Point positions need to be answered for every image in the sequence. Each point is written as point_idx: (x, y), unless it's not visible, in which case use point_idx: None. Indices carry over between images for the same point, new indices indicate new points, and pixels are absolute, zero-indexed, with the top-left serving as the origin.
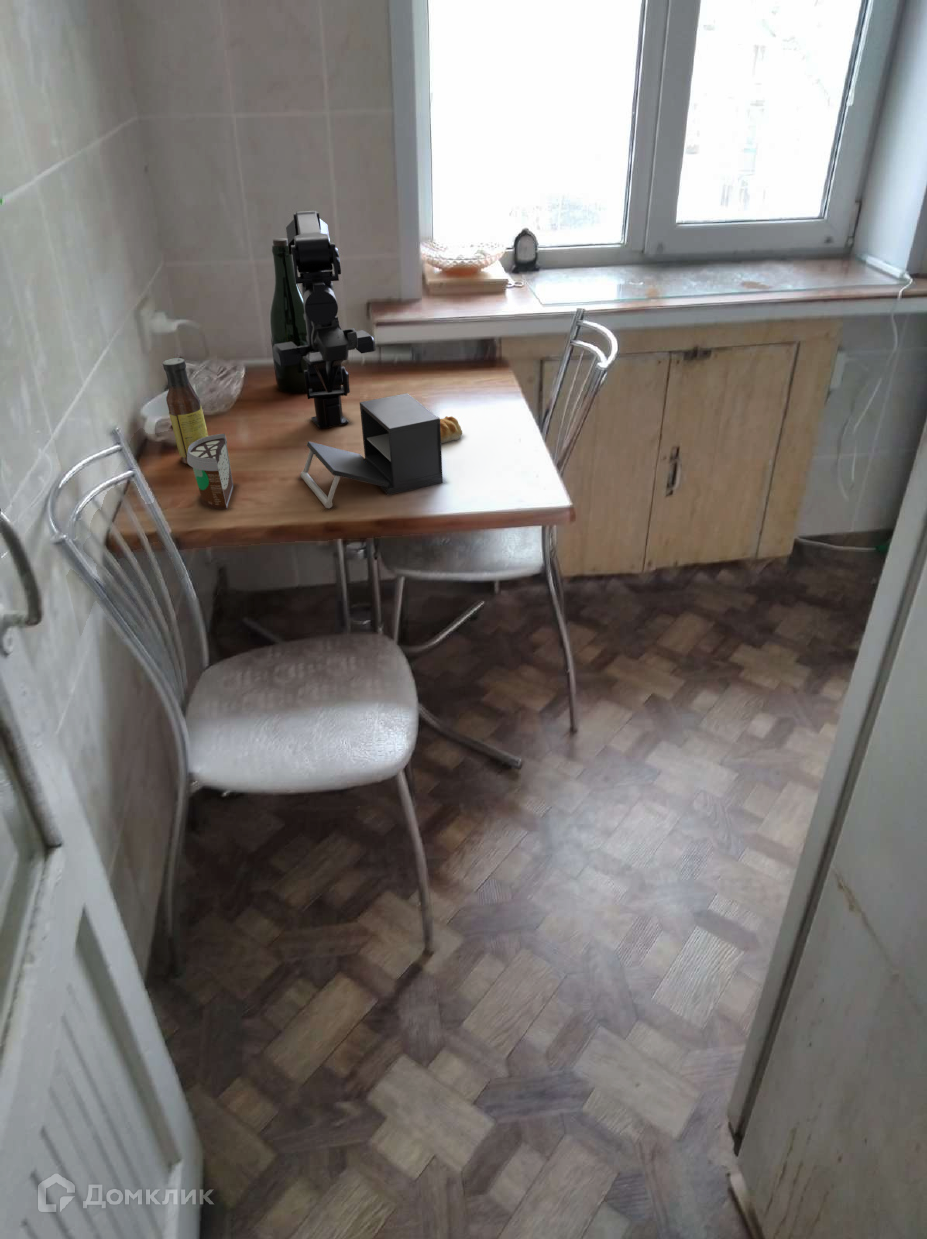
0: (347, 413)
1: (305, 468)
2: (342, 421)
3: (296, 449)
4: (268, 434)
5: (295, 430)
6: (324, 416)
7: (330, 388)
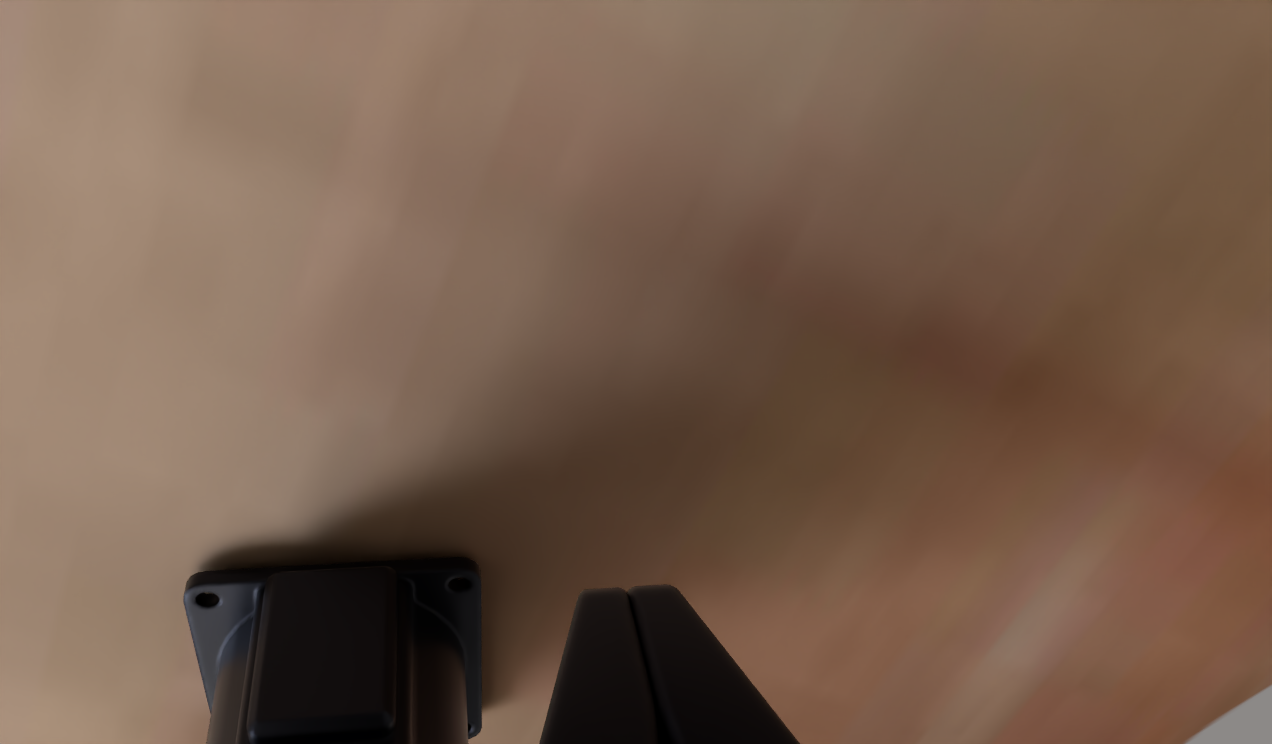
0: (148, 739)
1: None
2: (243, 605)
3: (855, 271)
4: (877, 609)
5: None
6: (415, 664)
7: (626, 650)
